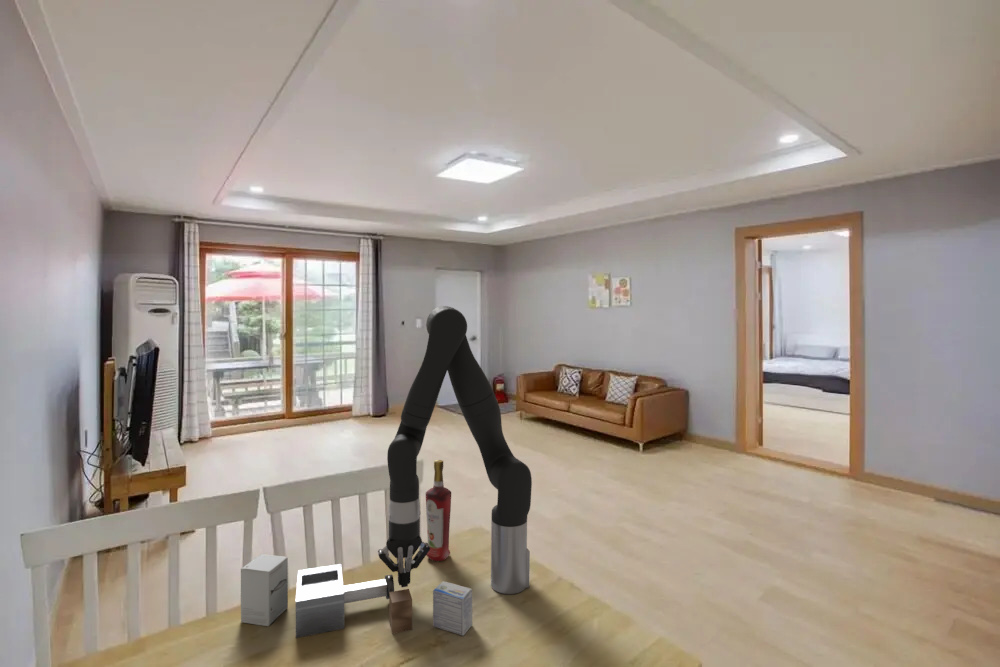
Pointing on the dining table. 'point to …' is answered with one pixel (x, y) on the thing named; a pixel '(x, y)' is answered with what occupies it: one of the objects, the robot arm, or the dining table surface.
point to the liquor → (438, 516)
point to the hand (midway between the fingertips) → (403, 585)
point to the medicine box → (452, 608)
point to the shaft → (369, 589)
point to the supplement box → (264, 589)
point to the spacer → (400, 611)
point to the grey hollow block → (319, 600)
